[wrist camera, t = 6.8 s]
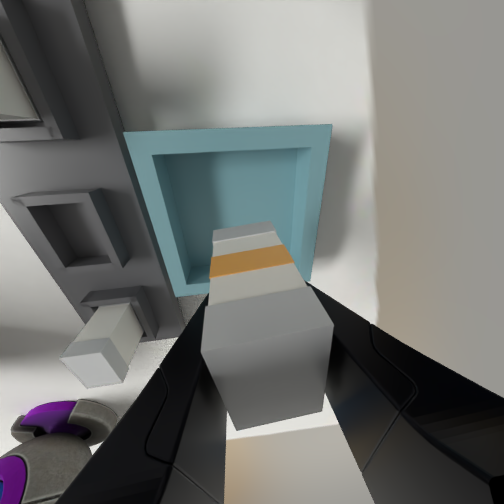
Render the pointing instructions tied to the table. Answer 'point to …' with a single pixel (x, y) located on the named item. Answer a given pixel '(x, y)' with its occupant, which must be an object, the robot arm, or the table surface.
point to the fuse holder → (79, 172)
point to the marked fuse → (263, 329)
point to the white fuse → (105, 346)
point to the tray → (229, 191)
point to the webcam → (51, 449)
